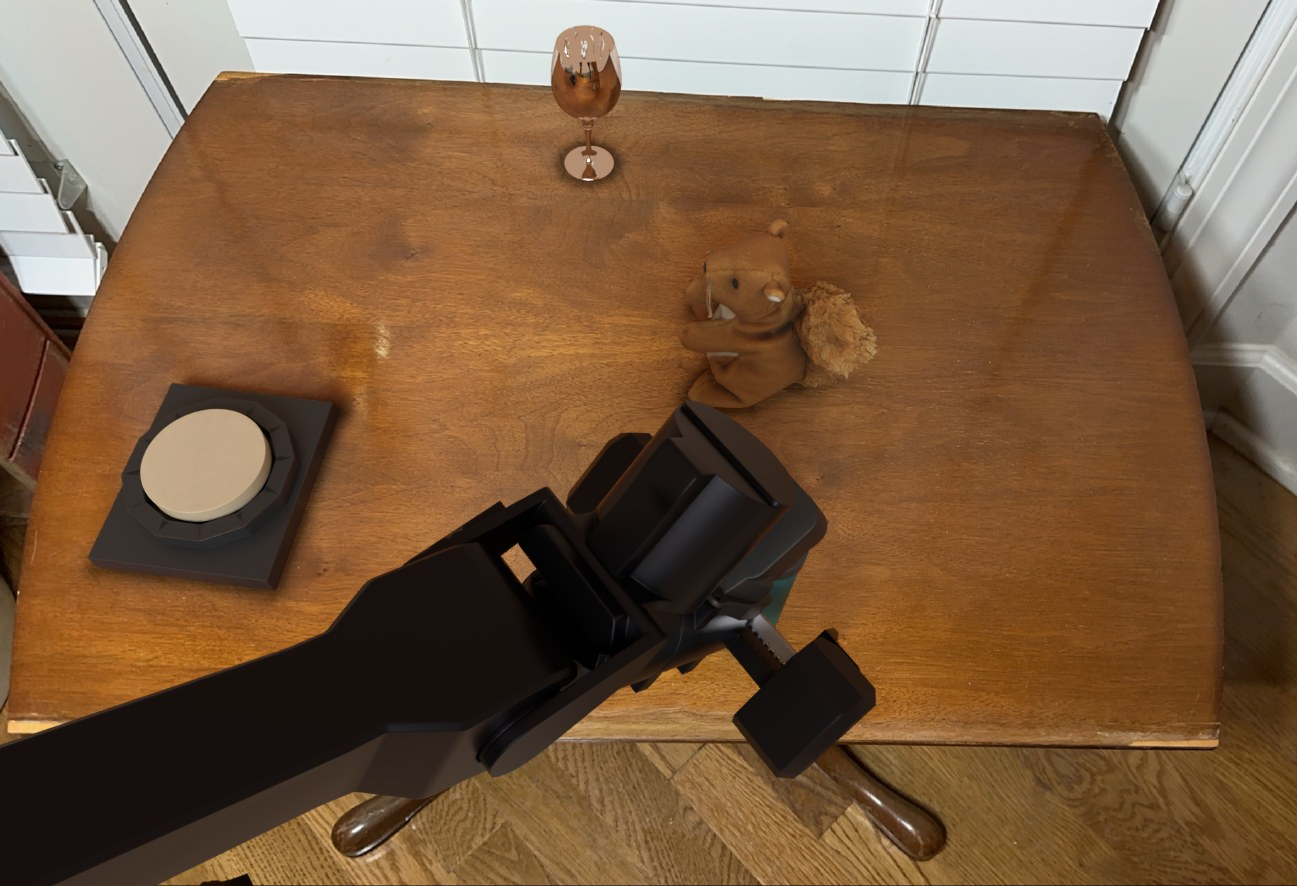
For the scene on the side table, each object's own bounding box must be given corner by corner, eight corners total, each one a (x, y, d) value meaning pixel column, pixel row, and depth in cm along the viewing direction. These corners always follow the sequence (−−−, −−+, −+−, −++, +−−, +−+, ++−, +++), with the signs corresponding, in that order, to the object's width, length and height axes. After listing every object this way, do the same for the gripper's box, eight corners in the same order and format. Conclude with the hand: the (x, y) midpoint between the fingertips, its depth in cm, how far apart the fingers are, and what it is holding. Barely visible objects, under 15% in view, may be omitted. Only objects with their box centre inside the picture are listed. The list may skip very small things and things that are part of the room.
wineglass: (620, 187, 80) (620, 68, 70) (554, 185, 80) (545, 66, 70) (622, 142, 83) (623, 22, 73) (559, 140, 83) (550, 19, 73)
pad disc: (248, 529, 60) (240, 520, 58) (129, 514, 60) (119, 504, 59) (288, 426, 64) (282, 415, 63) (176, 412, 64) (168, 401, 63)
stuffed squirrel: (686, 301, 74) (698, 176, 63) (861, 330, 73) (905, 208, 62) (664, 402, 69) (673, 286, 58) (852, 435, 68) (899, 323, 56)
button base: (275, 590, 60) (259, 572, 58) (98, 567, 61) (75, 548, 58) (338, 414, 67) (327, 391, 65) (180, 394, 68) (163, 370, 65)
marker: (771, 658, 59) (808, 575, 47) (718, 651, 59) (742, 567, 47) (774, 609, 61) (810, 517, 49) (722, 602, 61) (747, 509, 49)
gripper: (901, 665, 34) (996, 605, 47) (606, 341, 41) (759, 367, 55) (718, 834, 38) (852, 736, 51) (480, 512, 46) (650, 498, 59)
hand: (777, 575), depth 54 cm, fingers open, 9 cm apart
